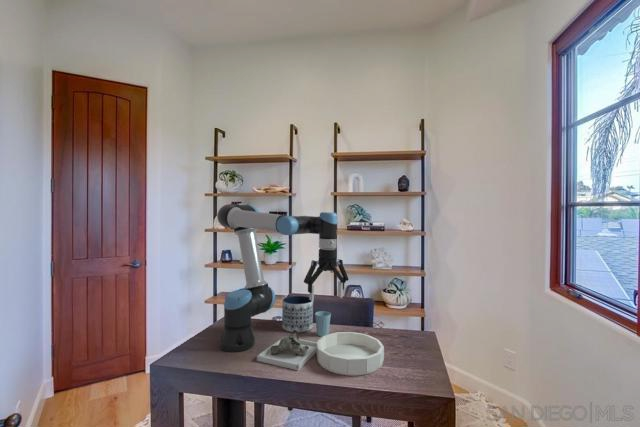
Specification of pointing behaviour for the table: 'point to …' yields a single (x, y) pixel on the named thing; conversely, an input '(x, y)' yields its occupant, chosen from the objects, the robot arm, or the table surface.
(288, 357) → the tray
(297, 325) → the planter
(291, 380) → the table surface
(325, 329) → the cup
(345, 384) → the table surface
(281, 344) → the decorative stone
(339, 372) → the bowl
